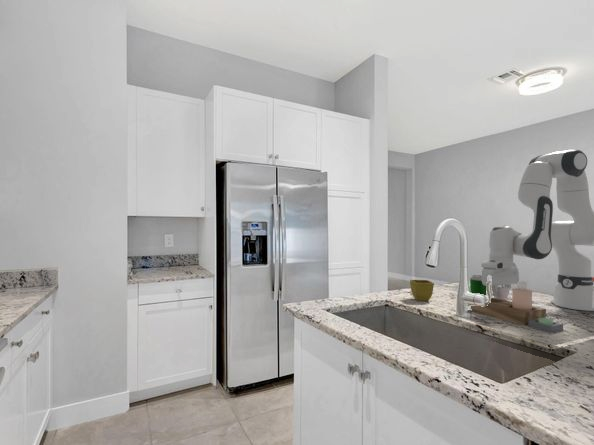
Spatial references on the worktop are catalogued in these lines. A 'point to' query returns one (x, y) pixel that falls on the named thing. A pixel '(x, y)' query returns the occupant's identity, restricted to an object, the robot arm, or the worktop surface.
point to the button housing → (546, 326)
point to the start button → (545, 321)
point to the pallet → (510, 311)
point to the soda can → (477, 285)
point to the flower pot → (421, 289)
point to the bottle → (522, 297)
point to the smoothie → (502, 292)
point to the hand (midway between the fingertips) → (500, 295)
